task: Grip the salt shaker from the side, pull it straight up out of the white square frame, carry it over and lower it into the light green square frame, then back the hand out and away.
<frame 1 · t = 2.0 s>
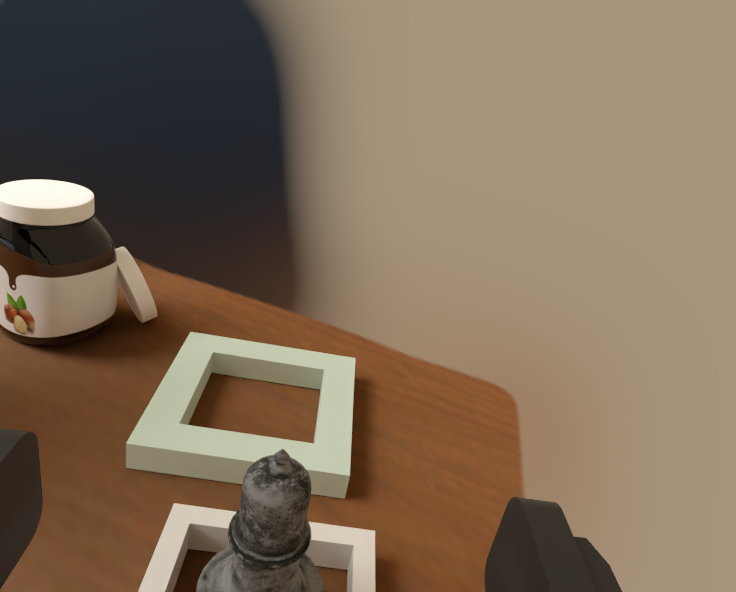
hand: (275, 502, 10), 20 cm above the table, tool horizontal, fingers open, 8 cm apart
spread jar: (79, 323, 50), on the table
light green square frame: (256, 415, 43), on the table
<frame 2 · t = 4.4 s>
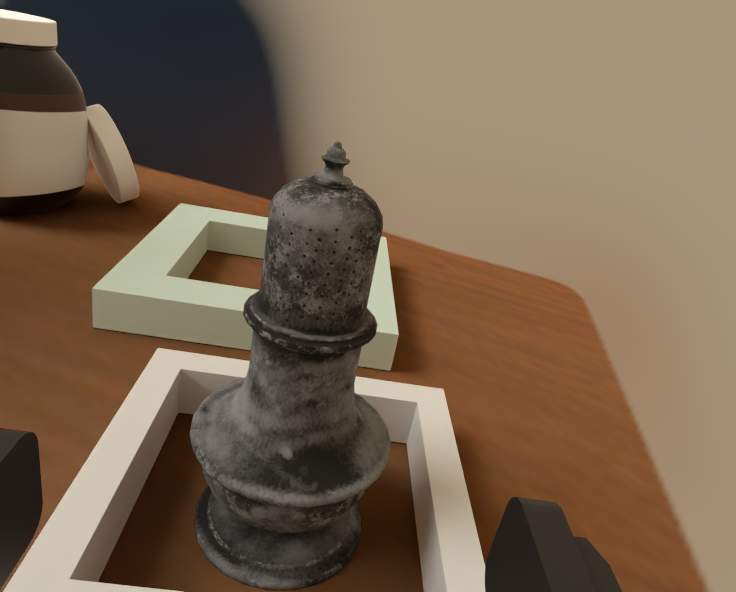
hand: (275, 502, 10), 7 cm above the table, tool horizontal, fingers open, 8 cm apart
spread jar: (42, 201, 40), on the table
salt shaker: (279, 521, 18), resting in white square frame
white square frame: (280, 516, 18), on the table
light green square frame: (266, 289, 33), on the table
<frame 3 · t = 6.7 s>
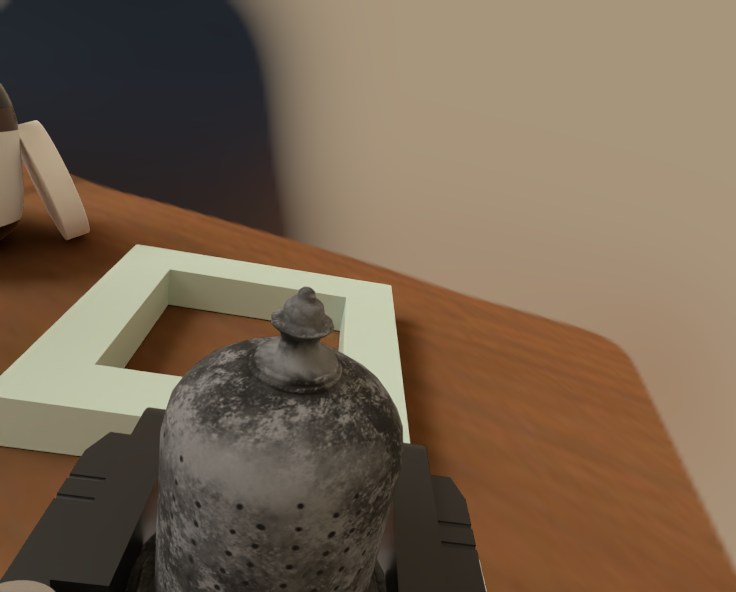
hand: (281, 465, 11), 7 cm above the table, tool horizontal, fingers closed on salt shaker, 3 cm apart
light green square frame: (238, 363, 26), on the table
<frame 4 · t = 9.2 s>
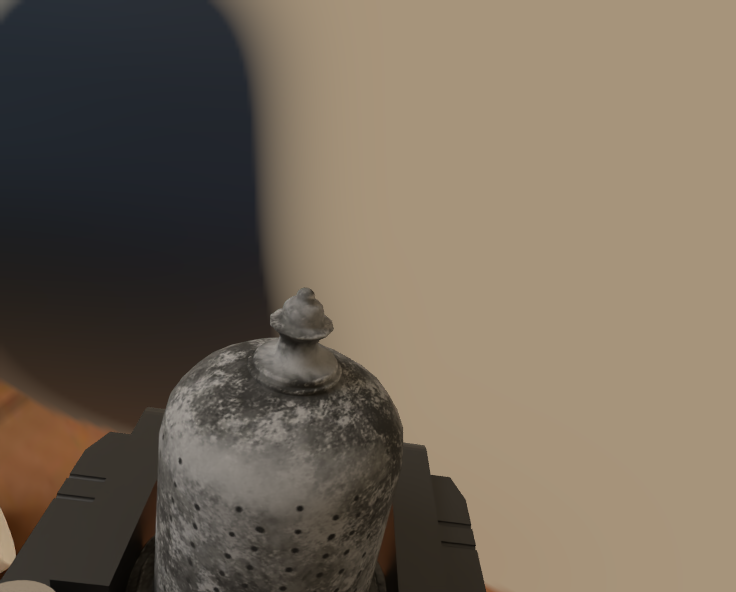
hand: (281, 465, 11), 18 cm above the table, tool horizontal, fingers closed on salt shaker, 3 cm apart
when the fingers open (8 cm above the table, at t = 11.7 s): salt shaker stays where it is, resting in light green square frame.
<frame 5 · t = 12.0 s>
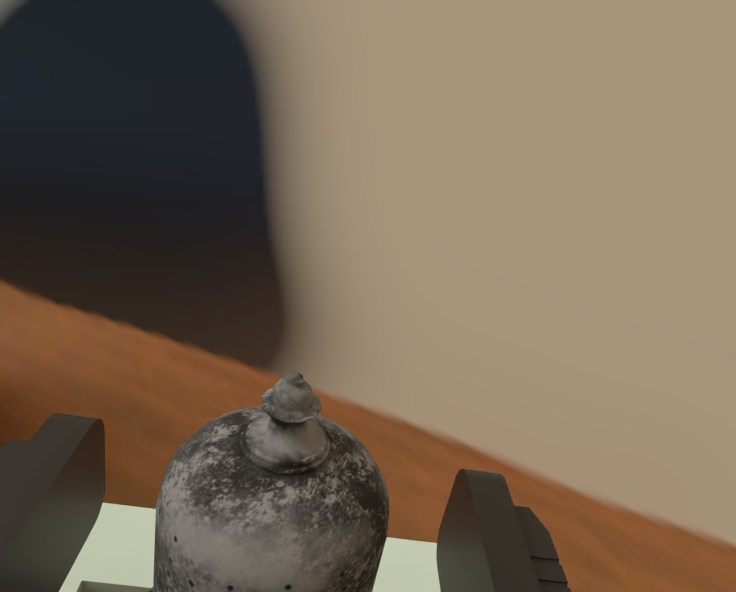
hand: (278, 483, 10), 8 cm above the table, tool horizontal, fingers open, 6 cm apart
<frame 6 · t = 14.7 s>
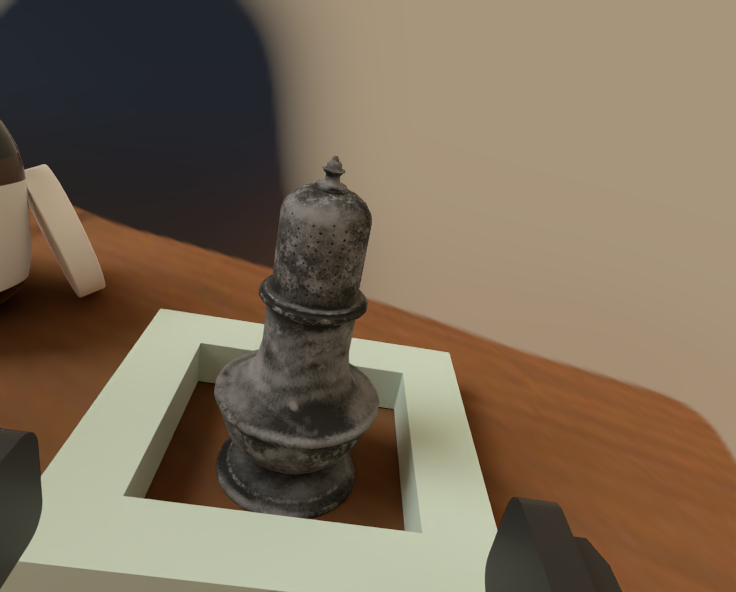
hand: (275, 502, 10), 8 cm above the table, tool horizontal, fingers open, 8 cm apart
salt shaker: (286, 470, 22), resting in light green square frame
light green square frame: (285, 463, 22), on the table
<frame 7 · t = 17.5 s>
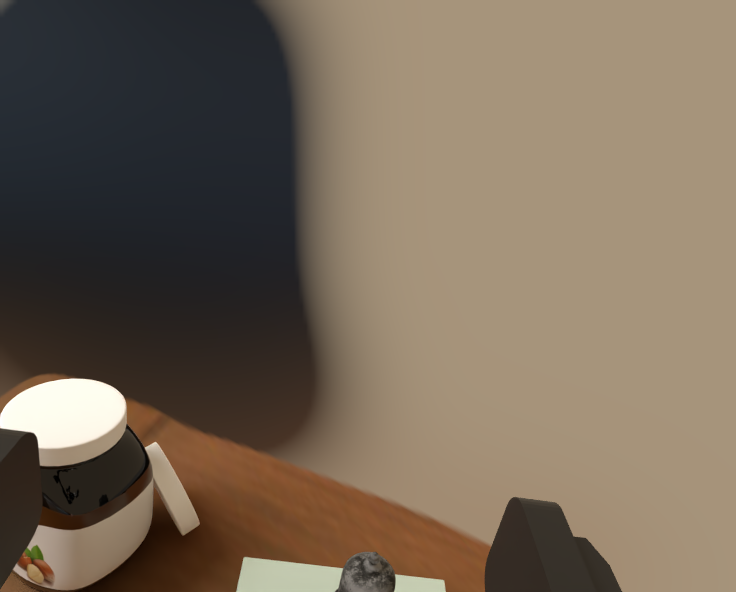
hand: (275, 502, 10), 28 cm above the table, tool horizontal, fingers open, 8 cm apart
spread jar: (104, 537, 41), on the table
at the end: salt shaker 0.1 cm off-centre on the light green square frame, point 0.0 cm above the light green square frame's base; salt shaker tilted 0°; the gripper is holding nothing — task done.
